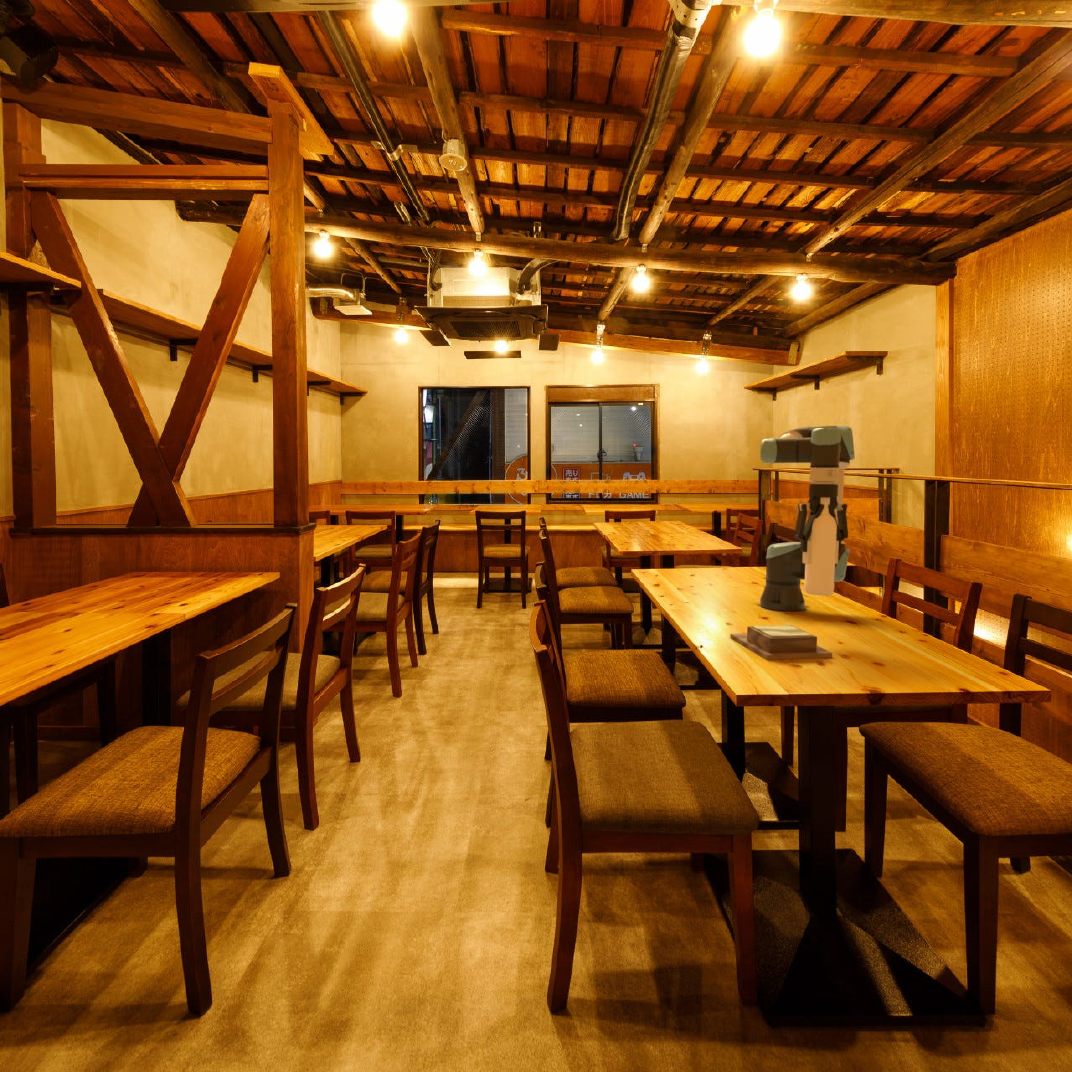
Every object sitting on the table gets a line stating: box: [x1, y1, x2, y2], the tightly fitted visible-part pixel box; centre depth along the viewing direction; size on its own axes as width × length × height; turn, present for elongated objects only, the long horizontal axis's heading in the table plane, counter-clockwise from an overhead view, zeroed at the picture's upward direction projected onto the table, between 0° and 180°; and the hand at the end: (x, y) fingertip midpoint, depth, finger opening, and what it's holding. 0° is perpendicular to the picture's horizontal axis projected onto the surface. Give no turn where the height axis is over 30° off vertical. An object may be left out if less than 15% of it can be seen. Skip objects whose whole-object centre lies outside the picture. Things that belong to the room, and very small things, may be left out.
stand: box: [729, 624, 833, 661], centre depth 174 cm, size 22×18×6 cm
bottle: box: [803, 497, 837, 597], centre depth 180 cm, size 8×8×30 cm
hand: (819, 563), depth 180 cm, fingers closed on bottle, 8 cm apart
